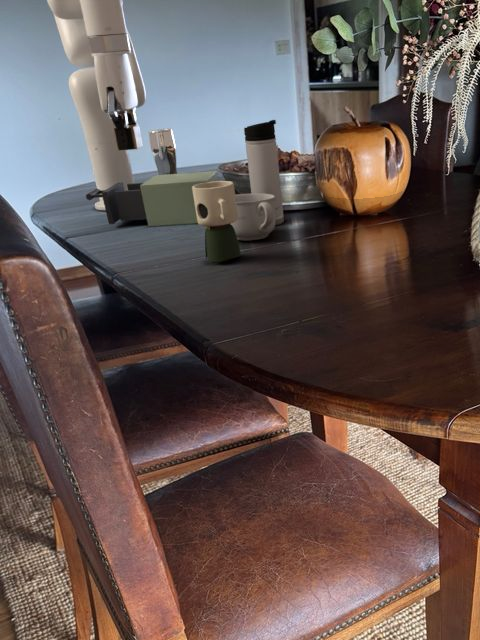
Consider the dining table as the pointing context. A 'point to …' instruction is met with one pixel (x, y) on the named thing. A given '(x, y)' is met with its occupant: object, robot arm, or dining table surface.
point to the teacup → (254, 216)
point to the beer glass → (163, 151)
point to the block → (134, 136)
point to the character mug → (217, 218)
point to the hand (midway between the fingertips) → (130, 146)
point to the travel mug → (264, 163)
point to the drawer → (121, 202)
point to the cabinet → (173, 197)
